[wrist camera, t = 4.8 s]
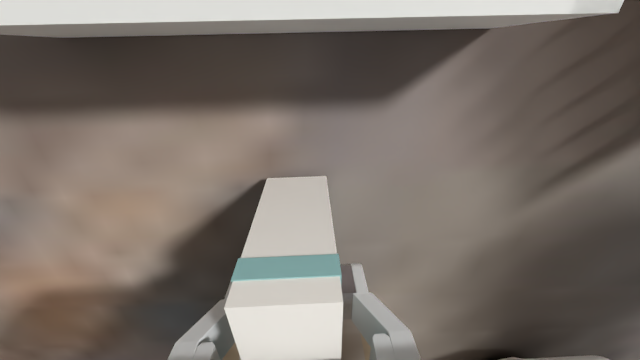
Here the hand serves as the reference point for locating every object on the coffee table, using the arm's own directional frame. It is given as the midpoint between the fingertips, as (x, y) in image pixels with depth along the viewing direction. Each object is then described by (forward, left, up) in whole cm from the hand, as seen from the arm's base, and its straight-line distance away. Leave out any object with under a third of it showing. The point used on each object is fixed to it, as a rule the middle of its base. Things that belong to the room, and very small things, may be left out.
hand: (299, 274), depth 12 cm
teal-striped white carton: (0, 0, -3) cm, 3 cm away
